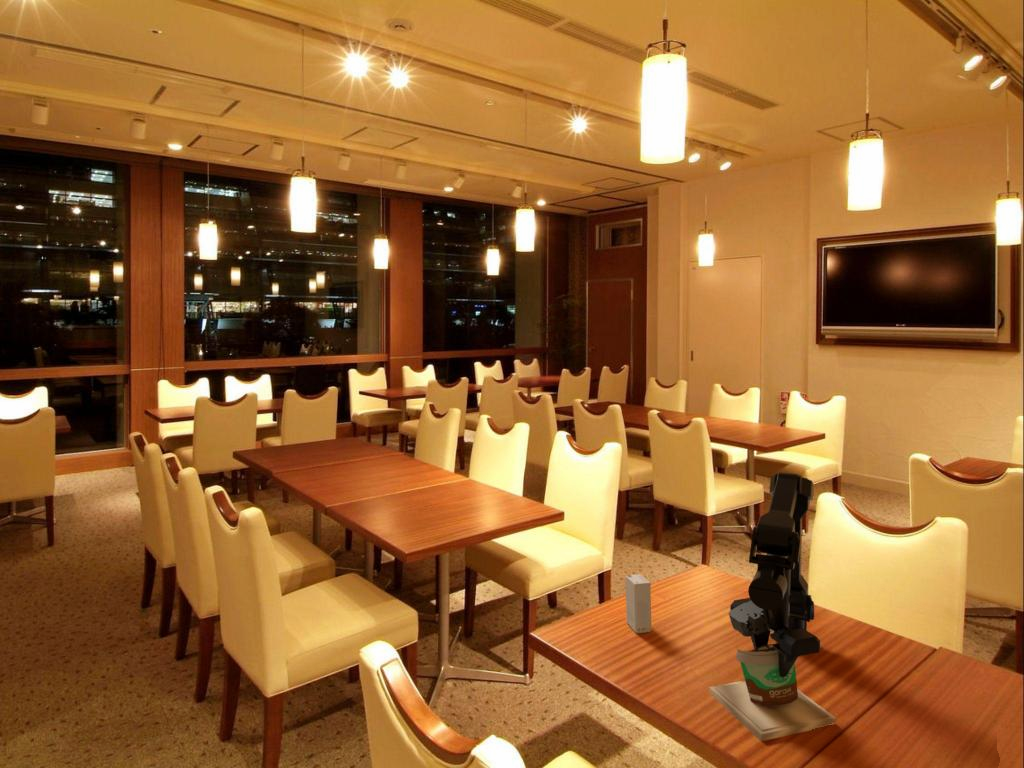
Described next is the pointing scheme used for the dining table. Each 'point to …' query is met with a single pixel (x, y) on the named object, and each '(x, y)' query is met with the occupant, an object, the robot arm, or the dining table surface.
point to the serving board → (771, 712)
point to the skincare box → (638, 603)
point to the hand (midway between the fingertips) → (771, 668)
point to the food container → (767, 677)
